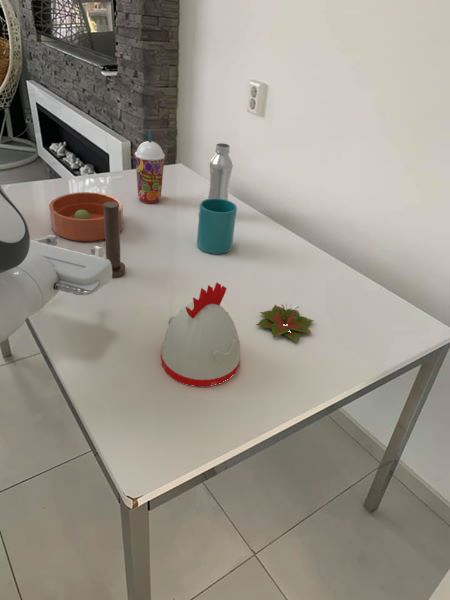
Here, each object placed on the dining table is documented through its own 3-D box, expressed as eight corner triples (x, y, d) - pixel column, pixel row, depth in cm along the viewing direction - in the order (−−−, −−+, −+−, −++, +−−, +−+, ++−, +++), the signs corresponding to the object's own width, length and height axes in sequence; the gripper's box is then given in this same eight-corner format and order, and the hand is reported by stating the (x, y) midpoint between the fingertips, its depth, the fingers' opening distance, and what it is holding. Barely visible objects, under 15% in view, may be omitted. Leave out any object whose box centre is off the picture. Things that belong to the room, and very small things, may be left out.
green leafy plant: (271, 301, 97) (274, 283, 95) (323, 322, 93) (328, 304, 90) (244, 328, 88) (247, 309, 86) (300, 353, 84) (305, 334, 81)
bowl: (43, 240, 109) (40, 217, 106) (61, 210, 124) (59, 189, 120) (117, 245, 111) (116, 222, 107) (126, 215, 125) (126, 194, 122)
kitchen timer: (255, 362, 80) (268, 293, 72) (198, 400, 72) (205, 325, 63) (202, 324, 88) (208, 257, 79) (144, 354, 79) (144, 282, 71)
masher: (99, 276, 98) (94, 207, 90) (106, 264, 103) (103, 198, 94) (121, 279, 98) (119, 211, 89) (128, 268, 102) (126, 201, 93)
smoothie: (139, 206, 131) (139, 136, 120) (132, 195, 137) (131, 127, 126) (167, 204, 134) (169, 135, 123) (158, 194, 140) (160, 127, 129)
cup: (212, 231, 122) (216, 191, 116) (239, 250, 115) (244, 209, 108) (184, 237, 118) (186, 196, 111) (209, 258, 110) (213, 215, 104)
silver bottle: (225, 210, 135) (232, 142, 124) (229, 219, 130) (237, 149, 119) (204, 209, 134) (209, 141, 123) (207, 219, 129) (213, 148, 117)
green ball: (70, 210, 114) (76, 222, 112) (84, 204, 115) (91, 215, 114) (73, 219, 117) (79, 230, 116) (87, 213, 119) (94, 224, 117)
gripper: (86, 279, 68) (128, 241, 79) (-30, 249, 72) (25, 217, 83) (89, 312, 72) (128, 272, 83) (-22, 283, 75) (30, 247, 86)
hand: (76, 244), depth 83 cm, fingers open, 8 cm apart
